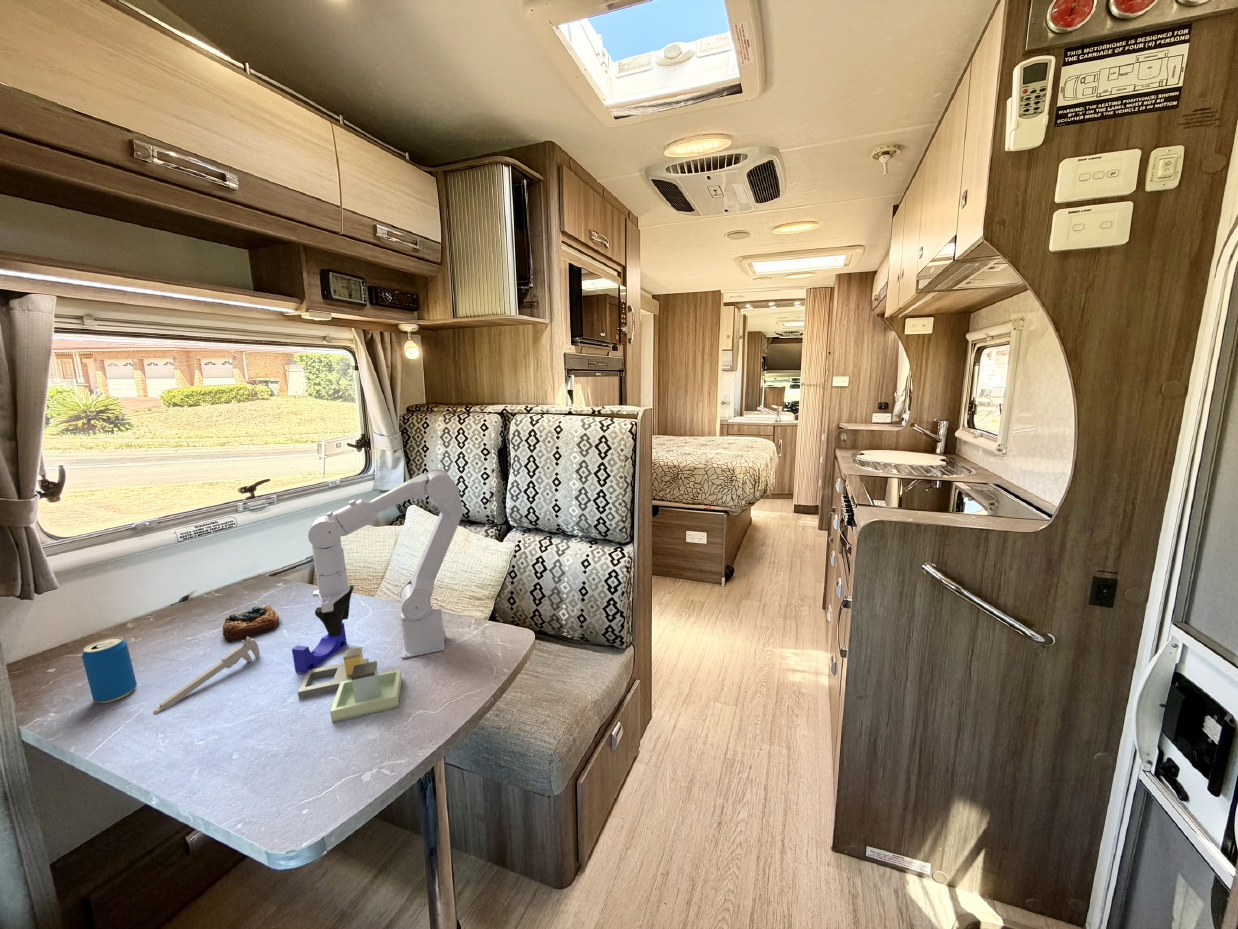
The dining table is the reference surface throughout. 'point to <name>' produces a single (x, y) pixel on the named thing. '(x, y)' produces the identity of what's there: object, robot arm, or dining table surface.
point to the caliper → (214, 671)
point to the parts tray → (387, 700)
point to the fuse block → (340, 671)
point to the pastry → (250, 623)
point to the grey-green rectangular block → (365, 682)
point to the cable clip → (317, 652)
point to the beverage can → (109, 669)
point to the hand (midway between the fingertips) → (339, 627)
